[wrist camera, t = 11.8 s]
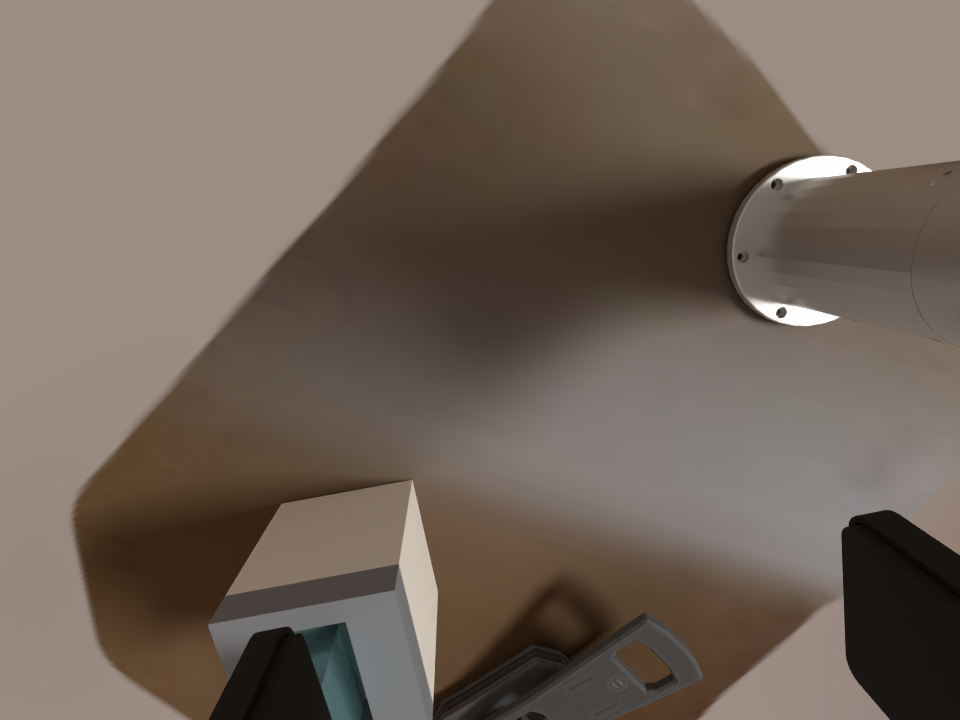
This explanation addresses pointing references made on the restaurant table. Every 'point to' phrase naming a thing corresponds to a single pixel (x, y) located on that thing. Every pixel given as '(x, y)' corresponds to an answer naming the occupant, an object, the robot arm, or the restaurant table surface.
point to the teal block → (336, 670)
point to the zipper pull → (575, 680)
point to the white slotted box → (346, 591)
